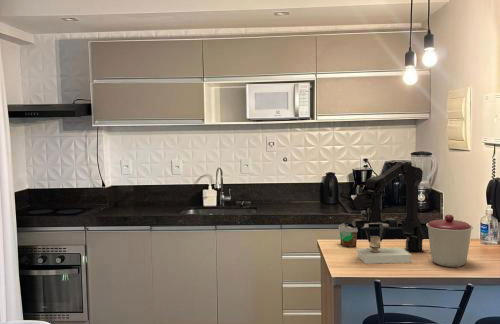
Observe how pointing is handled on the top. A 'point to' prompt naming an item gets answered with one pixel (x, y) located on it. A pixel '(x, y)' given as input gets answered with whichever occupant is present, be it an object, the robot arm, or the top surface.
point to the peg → (374, 243)
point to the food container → (348, 236)
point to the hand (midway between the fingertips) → (374, 241)
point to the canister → (449, 241)
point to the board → (384, 255)
